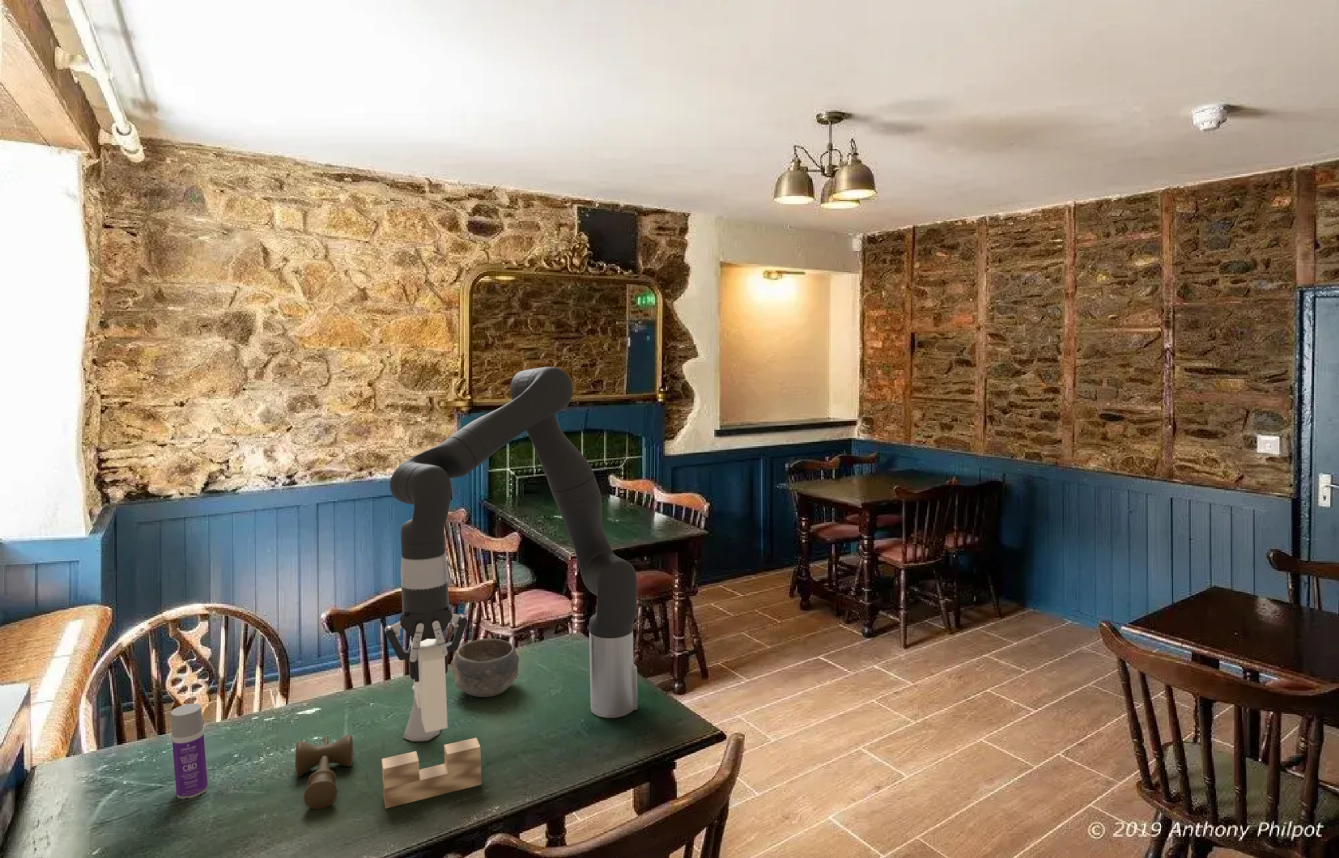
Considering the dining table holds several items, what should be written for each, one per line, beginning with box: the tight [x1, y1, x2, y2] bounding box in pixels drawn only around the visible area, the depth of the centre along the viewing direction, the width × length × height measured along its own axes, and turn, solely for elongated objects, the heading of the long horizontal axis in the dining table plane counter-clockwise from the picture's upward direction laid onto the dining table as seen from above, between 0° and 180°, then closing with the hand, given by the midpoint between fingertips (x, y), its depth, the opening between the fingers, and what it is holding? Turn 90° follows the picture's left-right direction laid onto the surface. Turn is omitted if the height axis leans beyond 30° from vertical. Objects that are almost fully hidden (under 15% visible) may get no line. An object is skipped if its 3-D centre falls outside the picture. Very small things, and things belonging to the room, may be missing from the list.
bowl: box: [450, 638, 520, 698], centre depth 169 cm, size 14×15×10 cm
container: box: [170, 703, 209, 800], centre depth 131 cm, size 5×5×15 cm
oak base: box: [381, 737, 482, 809], centre depth 131 cm, size 16×4×7 cm, turn 115°
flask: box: [402, 684, 442, 743], centre depth 150 cm, size 7×7×10 cm
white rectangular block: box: [413, 639, 448, 733], centre depth 129 cm, size 14×4×12 cm, turn 25°
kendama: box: [294, 733, 354, 810], centre depth 135 cm, size 6×10×20 cm
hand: (428, 677), depth 129 cm, fingers closed on white rectangular block, 3 cm apart
